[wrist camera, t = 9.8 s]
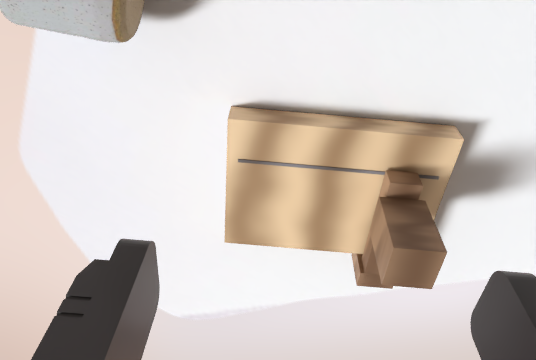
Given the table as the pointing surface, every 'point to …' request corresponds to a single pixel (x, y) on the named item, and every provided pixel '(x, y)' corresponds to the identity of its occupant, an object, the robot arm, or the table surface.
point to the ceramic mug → (78, 17)
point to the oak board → (324, 175)
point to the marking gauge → (400, 238)
